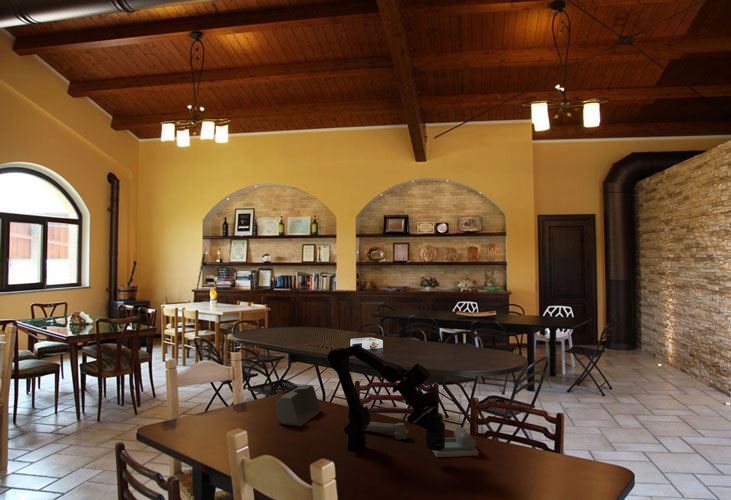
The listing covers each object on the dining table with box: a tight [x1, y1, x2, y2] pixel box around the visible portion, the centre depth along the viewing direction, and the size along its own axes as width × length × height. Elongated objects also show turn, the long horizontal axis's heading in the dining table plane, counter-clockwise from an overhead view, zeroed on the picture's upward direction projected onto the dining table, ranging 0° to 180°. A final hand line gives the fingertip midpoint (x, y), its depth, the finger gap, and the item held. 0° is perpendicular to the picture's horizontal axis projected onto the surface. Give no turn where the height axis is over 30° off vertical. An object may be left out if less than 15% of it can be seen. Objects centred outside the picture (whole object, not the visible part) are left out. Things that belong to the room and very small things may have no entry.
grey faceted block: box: [275, 384, 322, 427], centre depth 241 cm, size 25×16×12 cm, turn 162°
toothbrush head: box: [363, 421, 409, 441], centre depth 217 cm, size 5×7×25 cm
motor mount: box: [431, 426, 479, 458], centre depth 200 cm, size 16×14×6 cm
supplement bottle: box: [425, 412, 446, 452], centre depth 186 cm, size 7×7×12 cm
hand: (439, 429), depth 185 cm, fingers closed on supplement bottle, 7 cm apart
